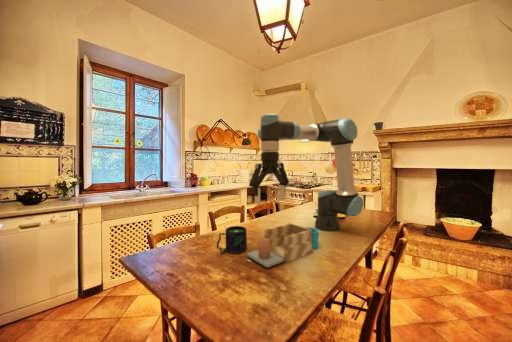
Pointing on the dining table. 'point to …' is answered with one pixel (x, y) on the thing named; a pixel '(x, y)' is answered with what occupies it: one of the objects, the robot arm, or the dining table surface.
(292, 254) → the crate
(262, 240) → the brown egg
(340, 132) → the robot arm
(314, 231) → the mug
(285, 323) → the dining table surface
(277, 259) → the panel
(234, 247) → the mug
